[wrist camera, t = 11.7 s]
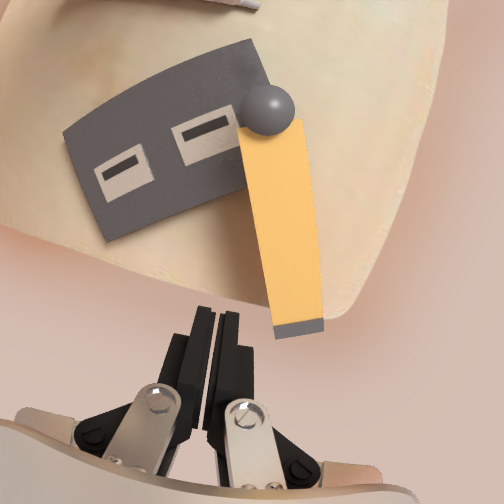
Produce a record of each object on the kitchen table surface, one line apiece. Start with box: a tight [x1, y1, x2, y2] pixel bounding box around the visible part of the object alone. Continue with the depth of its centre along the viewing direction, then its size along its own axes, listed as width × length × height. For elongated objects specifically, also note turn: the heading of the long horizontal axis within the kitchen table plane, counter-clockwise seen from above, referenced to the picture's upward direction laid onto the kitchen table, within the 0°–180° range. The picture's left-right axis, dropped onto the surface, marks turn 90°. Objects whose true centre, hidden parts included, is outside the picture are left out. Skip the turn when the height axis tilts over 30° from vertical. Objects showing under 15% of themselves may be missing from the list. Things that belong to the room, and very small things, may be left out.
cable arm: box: [237, 85, 324, 339], centre depth 24 cm, size 23×5×5 cm, turn 10°
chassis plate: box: [62, 39, 270, 242], centre depth 25 cm, size 22×14×2 cm, turn 109°
